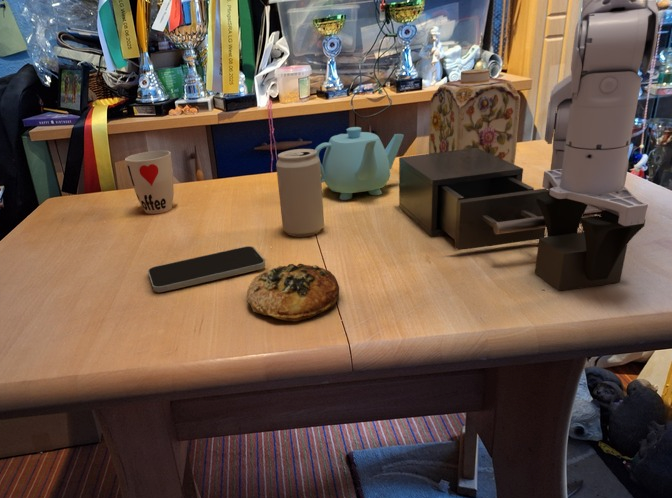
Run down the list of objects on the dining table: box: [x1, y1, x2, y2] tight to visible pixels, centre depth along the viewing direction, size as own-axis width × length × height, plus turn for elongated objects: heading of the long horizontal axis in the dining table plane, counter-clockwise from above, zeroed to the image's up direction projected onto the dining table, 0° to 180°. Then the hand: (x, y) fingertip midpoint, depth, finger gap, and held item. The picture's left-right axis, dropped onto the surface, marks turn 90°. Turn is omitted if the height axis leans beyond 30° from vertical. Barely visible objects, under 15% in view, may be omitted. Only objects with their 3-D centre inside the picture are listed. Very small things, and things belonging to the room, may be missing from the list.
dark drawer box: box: [437, 176, 550, 251], centre depth 74 cm, size 18×11×6 cm, turn 6°
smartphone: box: [147, 245, 266, 293], centre depth 75 cm, size 7×1×15 cm
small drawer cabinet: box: [398, 148, 524, 238], centre depth 84 cm, size 15×13×8 cm
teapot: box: [314, 126, 405, 201], centre depth 99 cm, size 15×14×11 cm
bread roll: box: [246, 263, 340, 322], centre depth 64 cm, size 11×11×5 cm
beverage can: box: [275, 148, 325, 238], centre depth 83 cm, size 6×6×12 cm
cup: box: [124, 150, 175, 215], centre depth 102 cm, size 8×8×10 cm
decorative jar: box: [428, 68, 521, 165], centre depth 102 cm, size 12×12×18 cm
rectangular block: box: [534, 231, 628, 292], centre depth 62 cm, size 7×5×4 cm
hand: (577, 266), depth 63 cm, fingers open, 6 cm apart
